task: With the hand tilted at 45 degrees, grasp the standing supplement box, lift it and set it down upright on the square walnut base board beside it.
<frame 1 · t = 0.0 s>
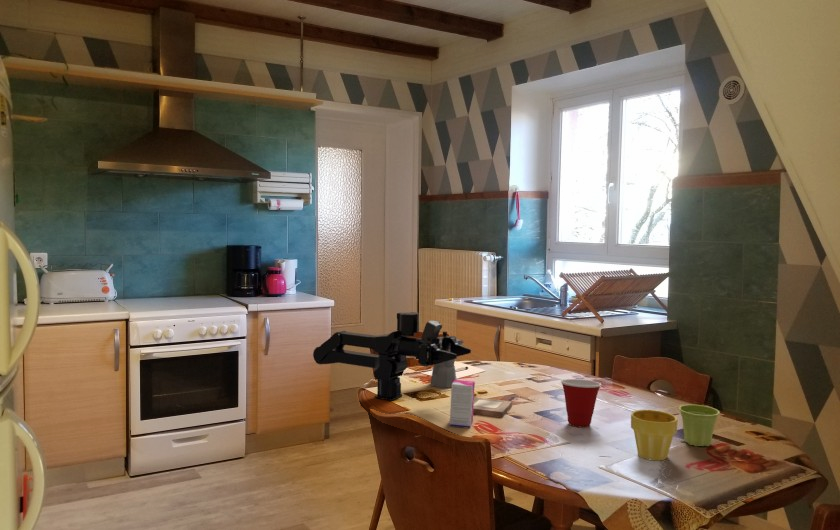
hand: (463, 353, 193), 17 cm above the table, tool horizontal, fingers open, 9 cm apart
plant pot 2: (697, 444, 169), on the table
plastic cup: (579, 424, 183), on the table
coffeepot: (440, 385, 223), on the table
supplement box: (461, 424, 181), on the table
base board: (487, 409, 195), on the table
plant pot: (652, 456, 159), on the table
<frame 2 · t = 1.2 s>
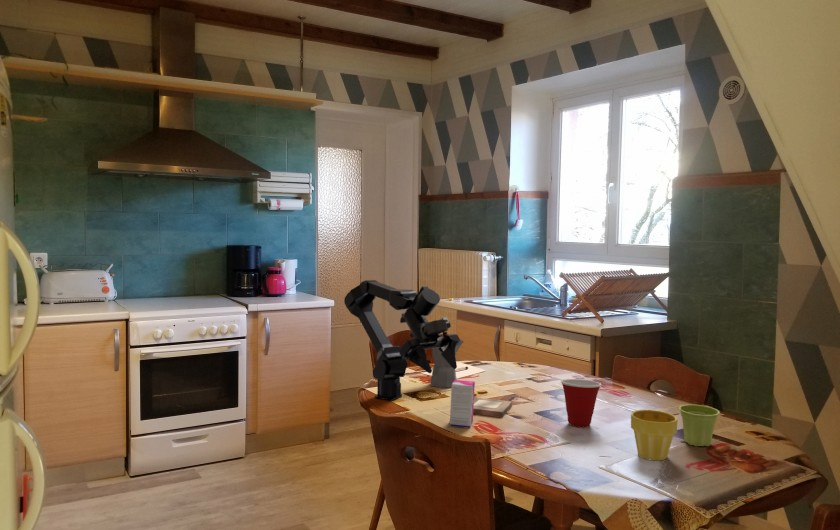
hand: (443, 370, 186), 13 cm above the table, tool tilted 45°, fingers open, 9 cm apart
nothing on the table moved.
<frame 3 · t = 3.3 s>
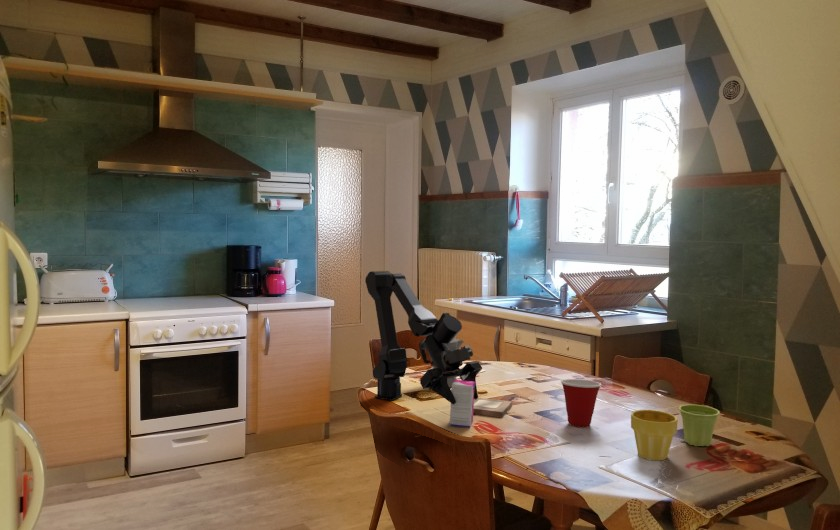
hand: (465, 401, 179), 7 cm above the table, tool tilted 45°, fingers closed on supplement box, 8 cm apart
supplement box: (461, 424, 181), on the table, touching gripper
everything else where it was.
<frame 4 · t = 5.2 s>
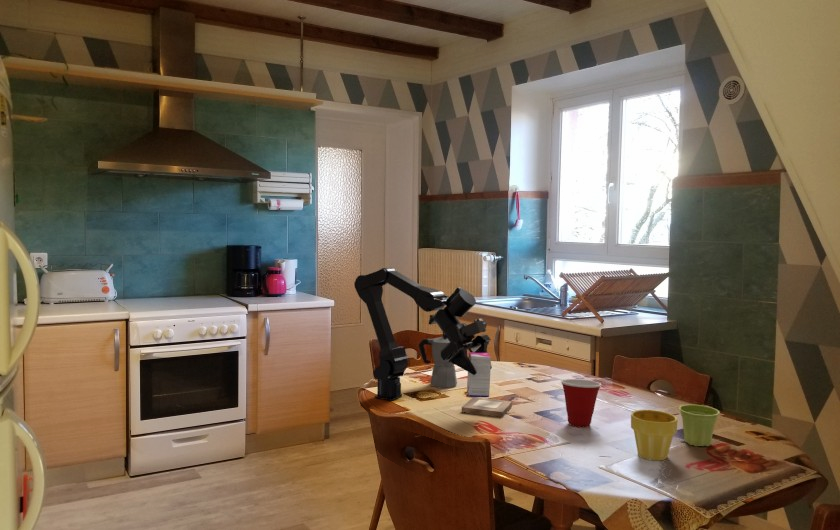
hand: (483, 371, 185), 13 cm above the table, tool tilted 45°, fingers closed on supplement box, 8 cm apart
supplement box: (478, 395, 187), point 6 cm above the table, touching gripper
everything else where it was.
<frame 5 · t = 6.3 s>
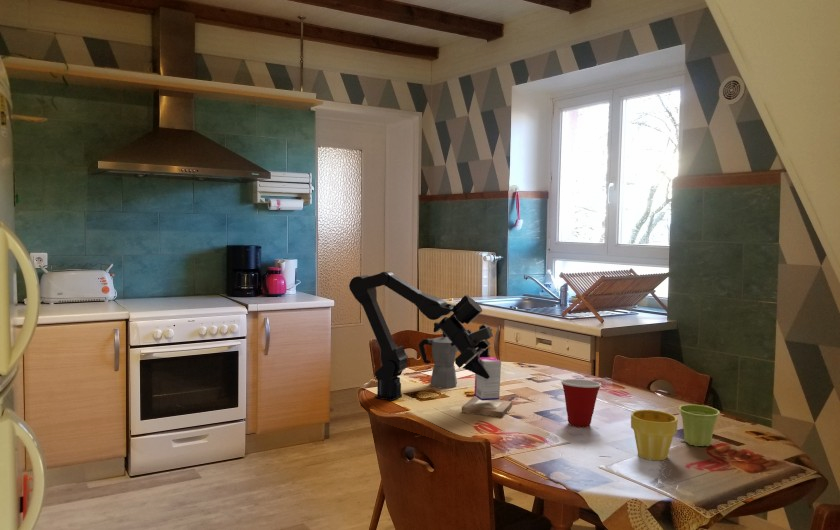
hand: (492, 375, 194), 10 cm above the table, tool tilted 45°, fingers closed on supplement box, 8 cm apart
supplement box: (486, 398, 195), point 3 cm above the table, touching gripper
everything else where it was.
when the fingers open (9 cm above the table, at t = 7.0 s): supplement box stays where it is, resting on base board.
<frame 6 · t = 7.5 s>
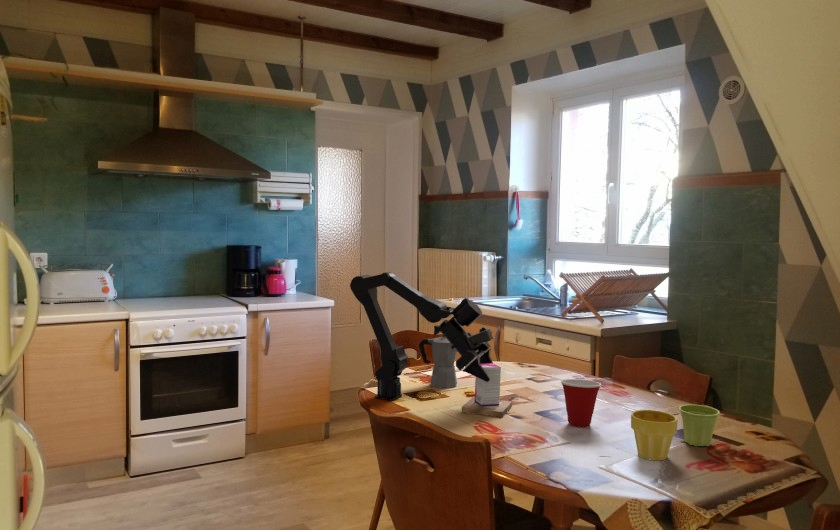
hand: (492, 377, 194), 10 cm above the table, tool tilted 45°, fingers open, 9 cm apart
supplement box: (486, 404, 195), point 1 cm above the table, touching base board
everything else where it was.
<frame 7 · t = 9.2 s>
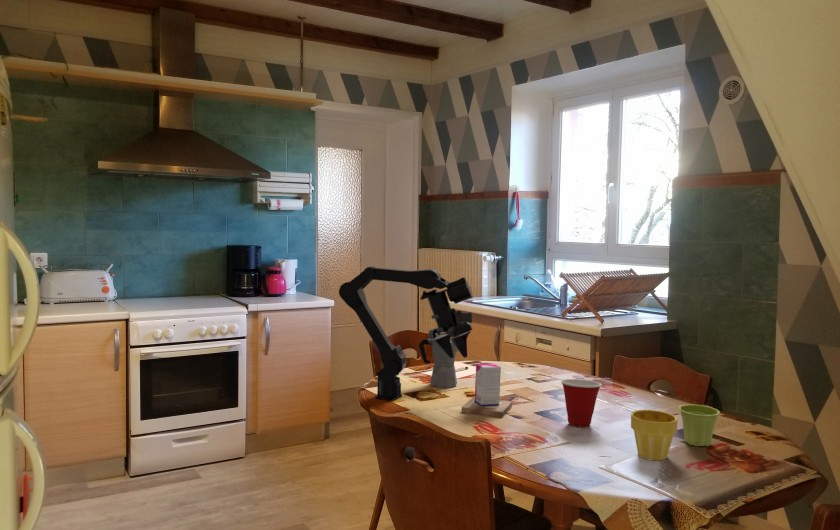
hand: (458, 357, 202), 14 cm above the table, tool tilted 20°, fingers open, 9 cm apart
nothing on the table moved.
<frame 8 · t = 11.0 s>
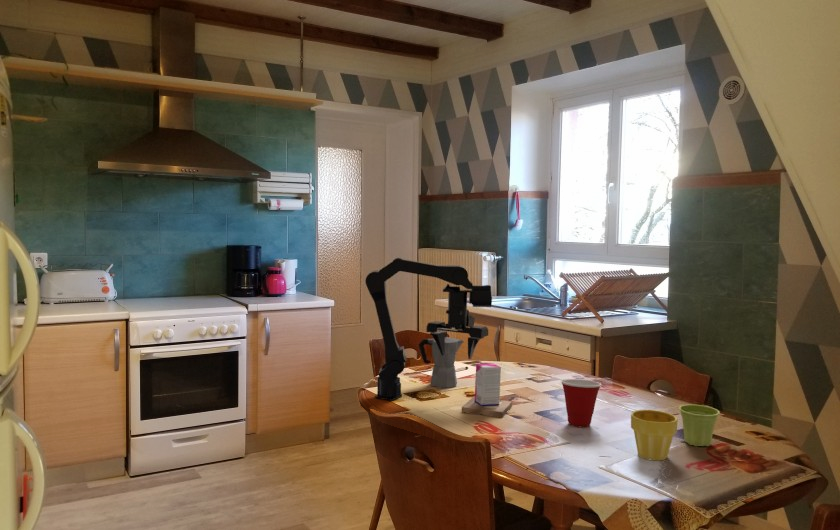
hand: (456, 357, 205), 13 cm above the table, tool pointing down, fingers open, 9 cm apart
nothing on the table moved.
at the end: supplement box inside the target area on the base board (0.2 cm from its centre), point 1.4 cm above the base board's base; supplement box tilted 0°; the gripper is holding nothing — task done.
